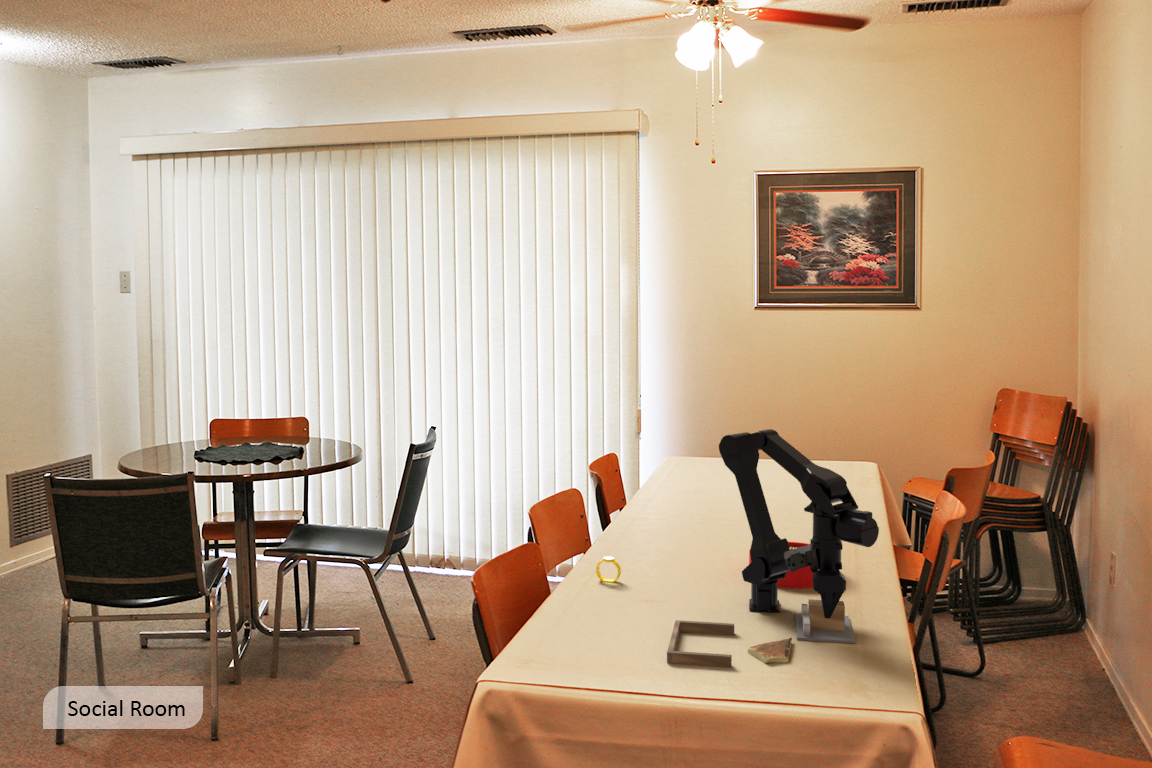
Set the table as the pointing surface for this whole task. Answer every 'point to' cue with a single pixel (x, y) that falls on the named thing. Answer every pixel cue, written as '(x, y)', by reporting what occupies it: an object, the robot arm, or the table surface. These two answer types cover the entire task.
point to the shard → (772, 651)
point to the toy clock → (796, 573)
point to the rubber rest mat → (825, 632)
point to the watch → (608, 559)
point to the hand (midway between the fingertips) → (825, 610)
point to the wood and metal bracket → (822, 617)
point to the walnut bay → (695, 657)
